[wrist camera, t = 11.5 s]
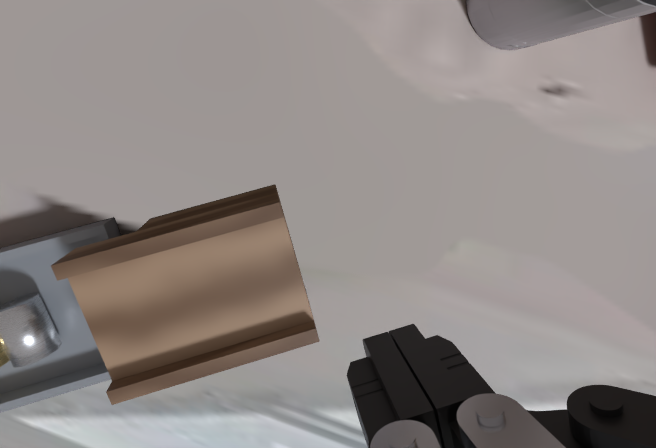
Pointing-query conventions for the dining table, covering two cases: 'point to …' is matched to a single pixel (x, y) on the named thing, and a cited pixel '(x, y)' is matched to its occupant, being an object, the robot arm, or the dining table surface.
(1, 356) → the brass slug
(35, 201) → the dining table surface
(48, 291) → the grey tray
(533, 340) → the dining table surface
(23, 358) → the steel slug
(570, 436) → the robot arm
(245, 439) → the dining table surface
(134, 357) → the brown open channel
